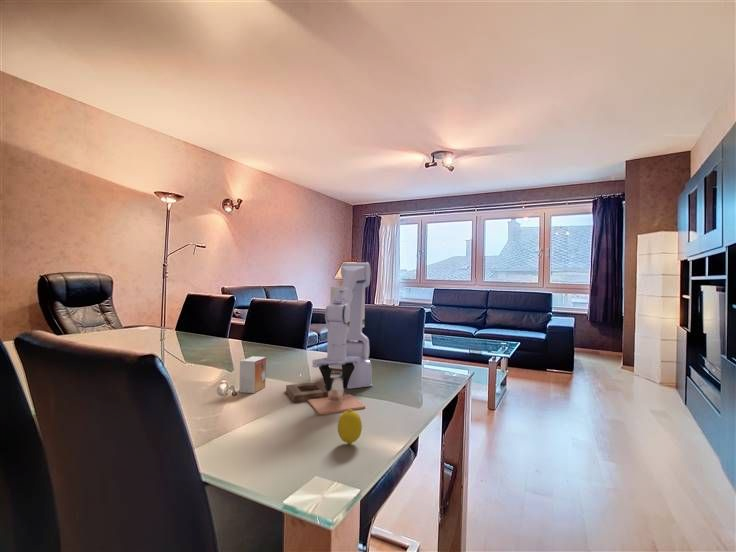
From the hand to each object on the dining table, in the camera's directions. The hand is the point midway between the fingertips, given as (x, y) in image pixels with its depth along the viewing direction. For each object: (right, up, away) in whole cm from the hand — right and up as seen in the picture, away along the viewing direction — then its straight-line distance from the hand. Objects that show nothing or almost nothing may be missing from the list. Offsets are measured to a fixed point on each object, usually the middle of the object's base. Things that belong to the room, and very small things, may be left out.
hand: (336, 389), depth 110 cm
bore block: (-10, -5, +10) cm, 15 cm away
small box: (-30, -5, +14) cm, 33 cm away
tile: (0, -5, 0) cm, 5 cm away
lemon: (+5, -5, -26) cm, 27 cm away
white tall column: (+1, -5, +41) cm, 41 cm away
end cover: (0, -3, 0) cm, 3 cm away
